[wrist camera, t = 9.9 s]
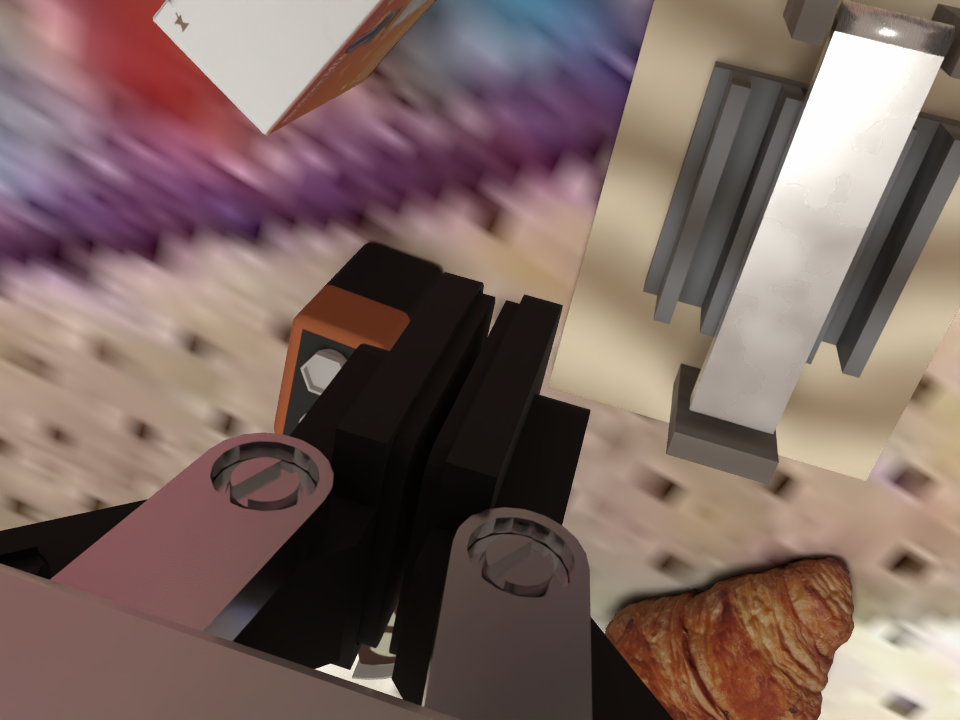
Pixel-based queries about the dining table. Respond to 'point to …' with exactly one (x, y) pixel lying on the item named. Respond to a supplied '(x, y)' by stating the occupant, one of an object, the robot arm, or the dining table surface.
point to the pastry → (741, 643)
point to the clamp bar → (818, 208)
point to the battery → (349, 323)
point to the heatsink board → (729, 227)
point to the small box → (286, 48)
